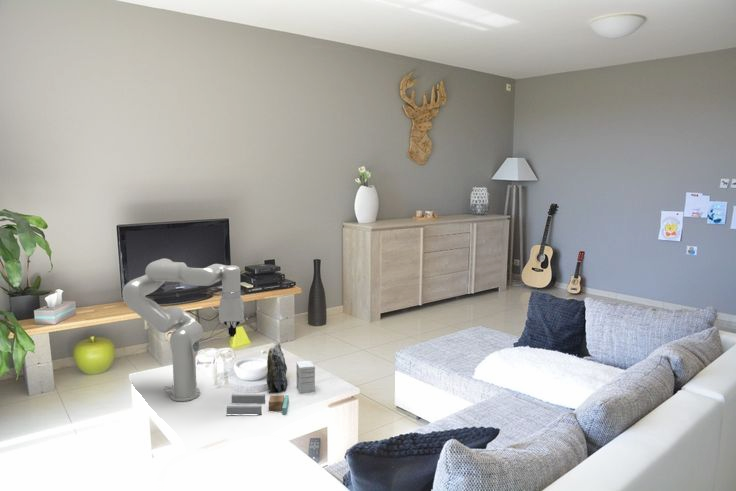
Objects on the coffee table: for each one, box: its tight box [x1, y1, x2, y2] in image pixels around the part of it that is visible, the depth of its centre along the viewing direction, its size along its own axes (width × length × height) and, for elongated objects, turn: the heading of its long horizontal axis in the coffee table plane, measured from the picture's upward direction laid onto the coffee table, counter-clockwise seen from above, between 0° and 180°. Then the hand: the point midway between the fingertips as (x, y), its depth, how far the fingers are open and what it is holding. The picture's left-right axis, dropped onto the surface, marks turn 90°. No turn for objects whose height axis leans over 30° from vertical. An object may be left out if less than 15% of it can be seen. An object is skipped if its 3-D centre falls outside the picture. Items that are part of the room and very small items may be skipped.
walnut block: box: [268, 394, 285, 412], centre depth 220 cm, size 6×6×4 cm
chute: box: [226, 393, 266, 415], centre depth 219 cm, size 14×12×4 cm
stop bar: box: [281, 394, 290, 416], centre depth 220 cm, size 2×12×3 cm, turn 4°
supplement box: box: [296, 360, 316, 394], centre depth 238 cm, size 7×7×13 cm
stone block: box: [266, 341, 288, 394], centre depth 241 cm, size 18×9×20 cm, turn 3°
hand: (232, 335), depth 223 cm, fingers closed
